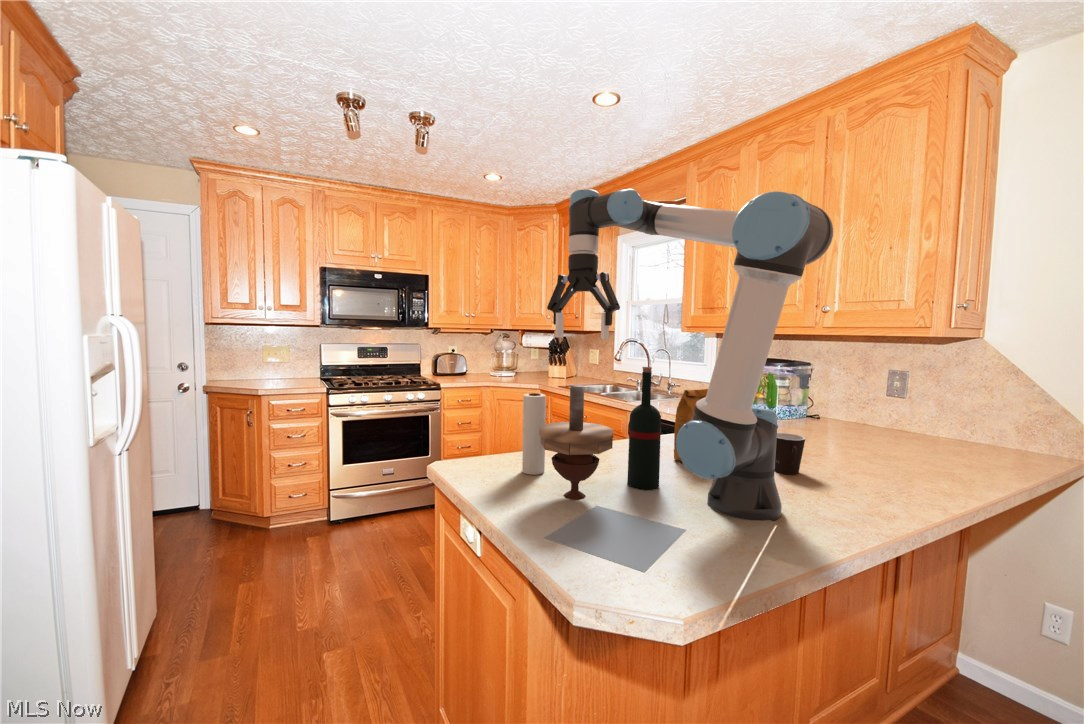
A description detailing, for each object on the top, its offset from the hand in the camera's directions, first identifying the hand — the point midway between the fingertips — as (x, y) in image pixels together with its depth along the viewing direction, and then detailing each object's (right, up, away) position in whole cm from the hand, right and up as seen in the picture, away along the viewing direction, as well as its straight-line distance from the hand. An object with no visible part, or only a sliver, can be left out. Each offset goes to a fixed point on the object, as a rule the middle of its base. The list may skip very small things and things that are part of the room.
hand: (581, 338), depth 121 cm
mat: (+4, -39, -31) cm, 50 cm away
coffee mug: (+58, -37, +10) cm, 69 cm away
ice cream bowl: (-3, -38, -12) cm, 40 cm away
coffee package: (+36, -36, +20) cm, 55 cm away
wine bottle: (+15, -37, -1) cm, 40 cm away
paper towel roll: (-12, -36, +8) cm, 39 cm away
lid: (-2, -25, -13) cm, 28 cm away
